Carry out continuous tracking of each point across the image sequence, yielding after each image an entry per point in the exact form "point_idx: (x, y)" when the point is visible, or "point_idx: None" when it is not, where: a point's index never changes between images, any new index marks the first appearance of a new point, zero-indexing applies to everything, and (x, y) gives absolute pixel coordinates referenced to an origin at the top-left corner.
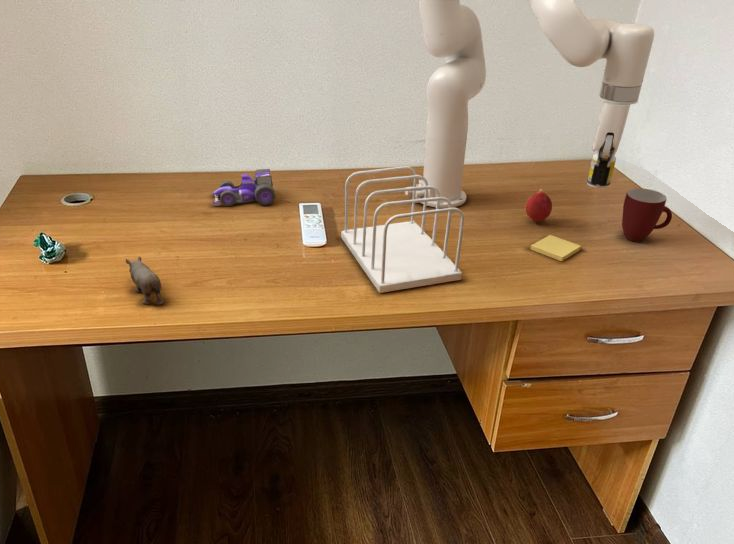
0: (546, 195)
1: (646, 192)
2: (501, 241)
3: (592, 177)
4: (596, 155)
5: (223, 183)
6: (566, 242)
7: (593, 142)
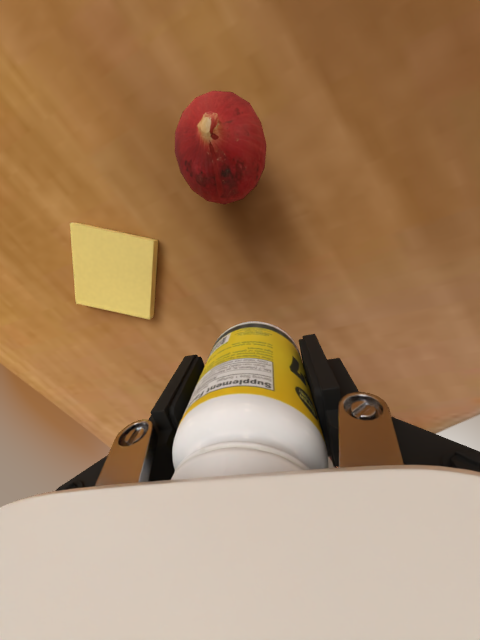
0: (215, 162)
1: (332, 464)
2: (59, 133)
3: (177, 371)
4: (200, 440)
5: None
6: (142, 288)
7: (64, 558)
